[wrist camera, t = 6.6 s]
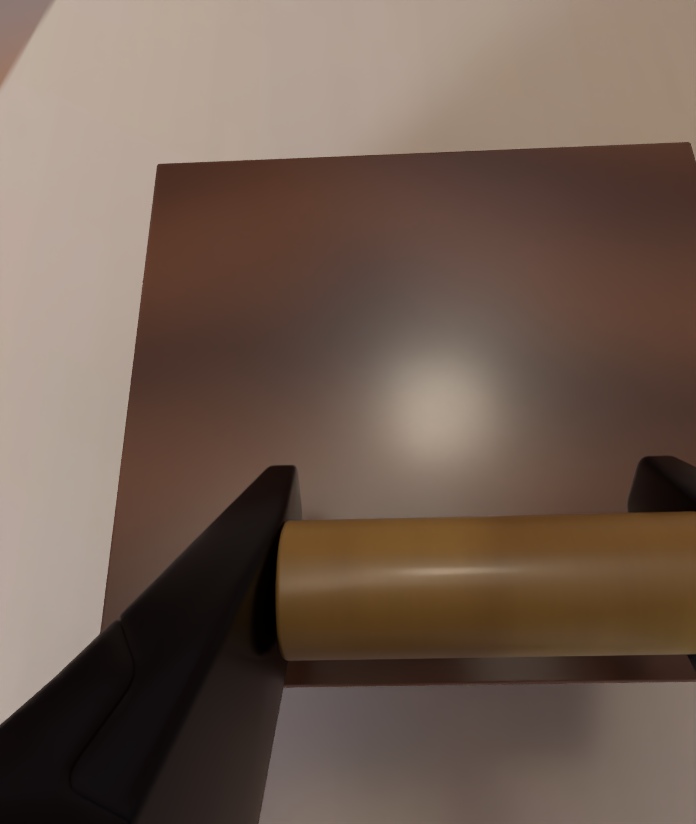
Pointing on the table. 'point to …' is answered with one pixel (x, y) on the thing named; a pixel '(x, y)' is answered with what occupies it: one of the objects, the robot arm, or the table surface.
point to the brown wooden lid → (428, 405)
